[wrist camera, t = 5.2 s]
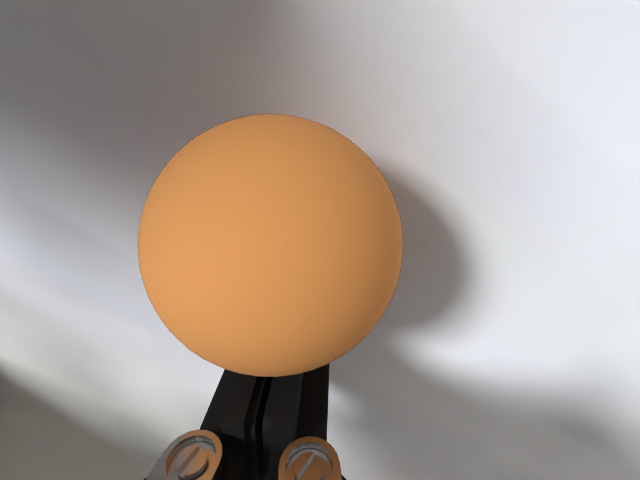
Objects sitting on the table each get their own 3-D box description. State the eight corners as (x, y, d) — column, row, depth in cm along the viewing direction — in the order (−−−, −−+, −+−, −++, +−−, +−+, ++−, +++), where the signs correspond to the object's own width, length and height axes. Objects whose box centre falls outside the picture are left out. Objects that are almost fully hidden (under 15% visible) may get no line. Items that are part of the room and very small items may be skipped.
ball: (397, 412, 8) (507, 239, 4) (147, 427, 8) (-13, 240, 4) (358, 245, 13) (393, 80, 9) (196, 246, 12) (150, 68, 8)
